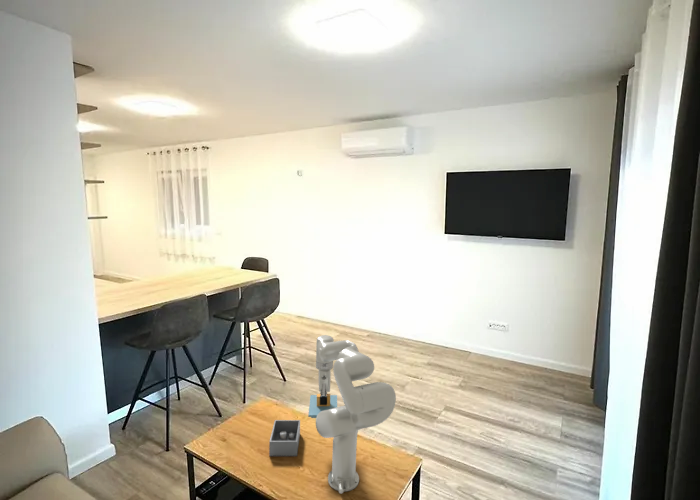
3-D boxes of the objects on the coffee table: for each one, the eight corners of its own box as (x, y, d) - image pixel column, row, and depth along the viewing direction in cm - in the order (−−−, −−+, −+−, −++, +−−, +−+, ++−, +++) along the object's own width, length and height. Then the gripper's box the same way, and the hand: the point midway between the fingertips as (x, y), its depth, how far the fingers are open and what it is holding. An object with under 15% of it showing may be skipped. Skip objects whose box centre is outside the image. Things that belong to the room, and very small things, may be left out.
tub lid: (337, 419, 162) (337, 405, 161) (308, 419, 162) (308, 405, 161) (336, 399, 179) (337, 386, 178) (310, 399, 178) (310, 386, 177)
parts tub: (296, 456, 166) (297, 441, 165) (269, 456, 166) (269, 441, 165) (299, 433, 182) (300, 420, 181) (274, 433, 181) (274, 420, 180)
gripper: (333, 372, 159) (331, 413, 162) (332, 356, 175) (331, 393, 178) (315, 372, 159) (314, 412, 162) (316, 356, 175) (315, 393, 177)
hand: (323, 402), depth 170 cm, fingers closed on tub lid
